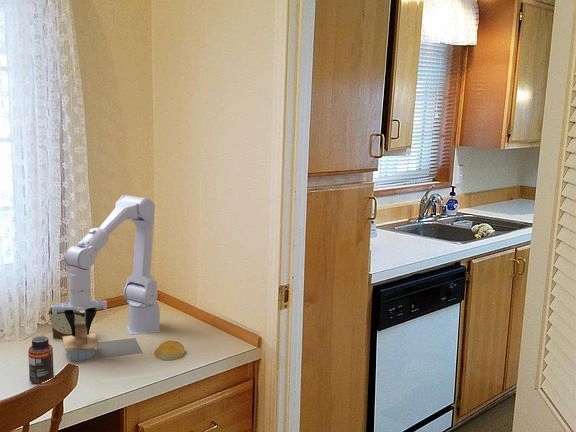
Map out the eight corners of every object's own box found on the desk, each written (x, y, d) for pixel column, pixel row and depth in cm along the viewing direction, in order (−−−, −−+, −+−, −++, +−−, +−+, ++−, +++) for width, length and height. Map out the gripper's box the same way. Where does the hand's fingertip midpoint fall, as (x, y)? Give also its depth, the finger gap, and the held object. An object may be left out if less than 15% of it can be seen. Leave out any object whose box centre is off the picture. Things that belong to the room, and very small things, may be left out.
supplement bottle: (48, 372, 164) (48, 332, 161) (57, 380, 159) (56, 339, 157) (25, 378, 160) (24, 337, 158) (33, 386, 155) (32, 345, 153)
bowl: (92, 349, 180) (92, 338, 179) (96, 359, 173) (96, 348, 172) (65, 352, 176) (65, 341, 176) (67, 363, 170) (67, 351, 169)
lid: (94, 335, 180) (94, 318, 179) (99, 347, 172) (99, 329, 171) (62, 339, 176) (62, 321, 175) (65, 351, 168) (64, 332, 167)
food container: (95, 335, 190) (95, 305, 188) (87, 343, 184) (87, 311, 182) (57, 332, 191) (57, 301, 189) (48, 339, 185) (47, 308, 183)
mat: (135, 339, 189) (135, 337, 189) (143, 354, 178) (143, 352, 178) (95, 343, 184) (95, 342, 184) (100, 359, 173) (100, 358, 173)
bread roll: (150, 360, 175) (150, 347, 174) (162, 348, 183) (162, 336, 183) (178, 363, 173) (178, 350, 173) (188, 351, 182) (188, 339, 181)
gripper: (53, 295, 164) (54, 342, 167) (108, 290, 170) (108, 336, 173) (51, 287, 171) (52, 333, 173) (104, 283, 177) (105, 327, 179)
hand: (80, 334), depth 173 cm, fingers open, 3 cm apart
